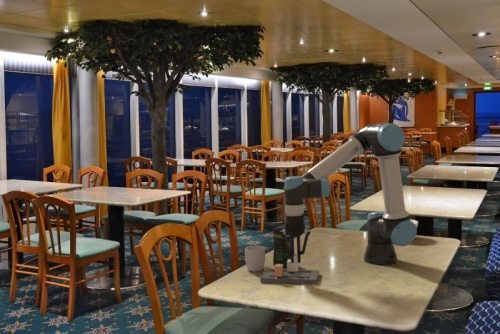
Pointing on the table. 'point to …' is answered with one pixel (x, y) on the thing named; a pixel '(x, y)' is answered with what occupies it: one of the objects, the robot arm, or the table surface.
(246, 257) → the mug
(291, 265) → the block
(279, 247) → the coffee jar
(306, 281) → the board
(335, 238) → the table surface
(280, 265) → the fader near
